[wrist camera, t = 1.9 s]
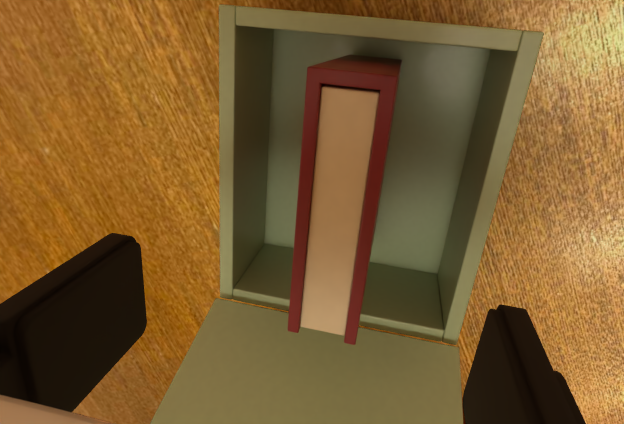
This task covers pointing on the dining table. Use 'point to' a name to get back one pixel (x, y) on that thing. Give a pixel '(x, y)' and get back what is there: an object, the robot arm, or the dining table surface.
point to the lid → (308, 375)
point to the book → (340, 189)
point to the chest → (399, 164)
